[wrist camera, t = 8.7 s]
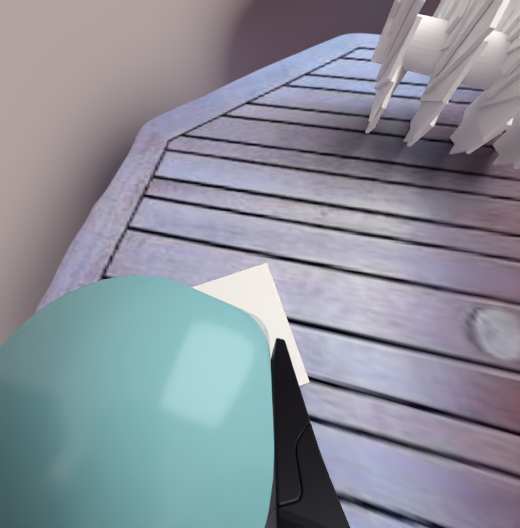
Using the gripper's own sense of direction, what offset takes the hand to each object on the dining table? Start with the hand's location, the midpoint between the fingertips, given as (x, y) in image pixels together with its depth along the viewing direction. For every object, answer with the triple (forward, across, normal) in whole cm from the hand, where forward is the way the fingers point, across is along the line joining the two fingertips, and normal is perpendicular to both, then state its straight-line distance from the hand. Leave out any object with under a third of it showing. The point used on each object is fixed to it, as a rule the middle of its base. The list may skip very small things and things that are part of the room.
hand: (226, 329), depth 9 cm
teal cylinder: (+4, 0, +6) cm, 7 cm away
